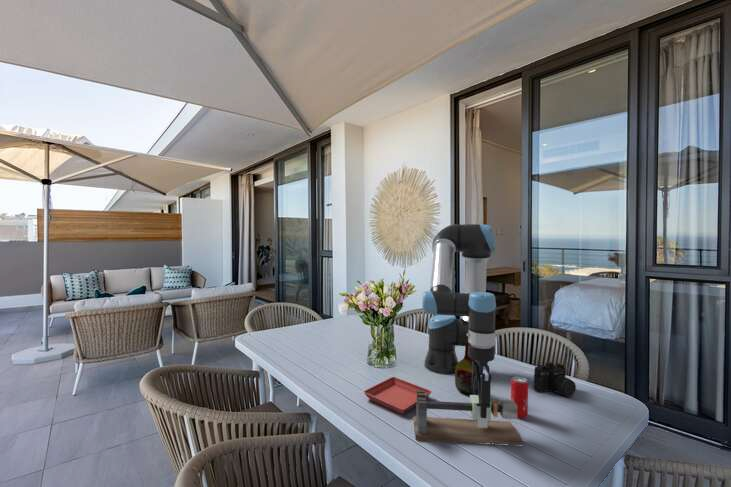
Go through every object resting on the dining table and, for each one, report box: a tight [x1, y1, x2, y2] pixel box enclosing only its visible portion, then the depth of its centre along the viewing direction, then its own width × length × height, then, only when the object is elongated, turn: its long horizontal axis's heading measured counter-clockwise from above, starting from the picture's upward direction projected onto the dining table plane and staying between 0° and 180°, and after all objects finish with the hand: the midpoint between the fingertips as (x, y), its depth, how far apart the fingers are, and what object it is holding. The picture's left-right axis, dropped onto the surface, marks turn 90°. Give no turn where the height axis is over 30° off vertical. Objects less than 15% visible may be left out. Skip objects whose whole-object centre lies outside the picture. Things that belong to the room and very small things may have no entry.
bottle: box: [454, 342, 474, 397], centre depth 127 cm, size 12×6×20 cm, turn 37°
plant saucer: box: [363, 376, 432, 414], centre depth 122 cm, size 18×18×3 cm
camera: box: [533, 361, 577, 397], centre depth 129 cm, size 14×11×10 cm
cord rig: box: [413, 390, 524, 446], centre depth 101 cm, size 10×30×10 cm, turn 85°
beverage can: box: [510, 376, 529, 419], centre depth 112 cm, size 5×5×12 cm
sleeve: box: [469, 395, 492, 421], centre depth 101 cm, size 5×5×5 cm
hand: (479, 421), depth 101 cm, fingers closed on sleeve, 5 cm apart
